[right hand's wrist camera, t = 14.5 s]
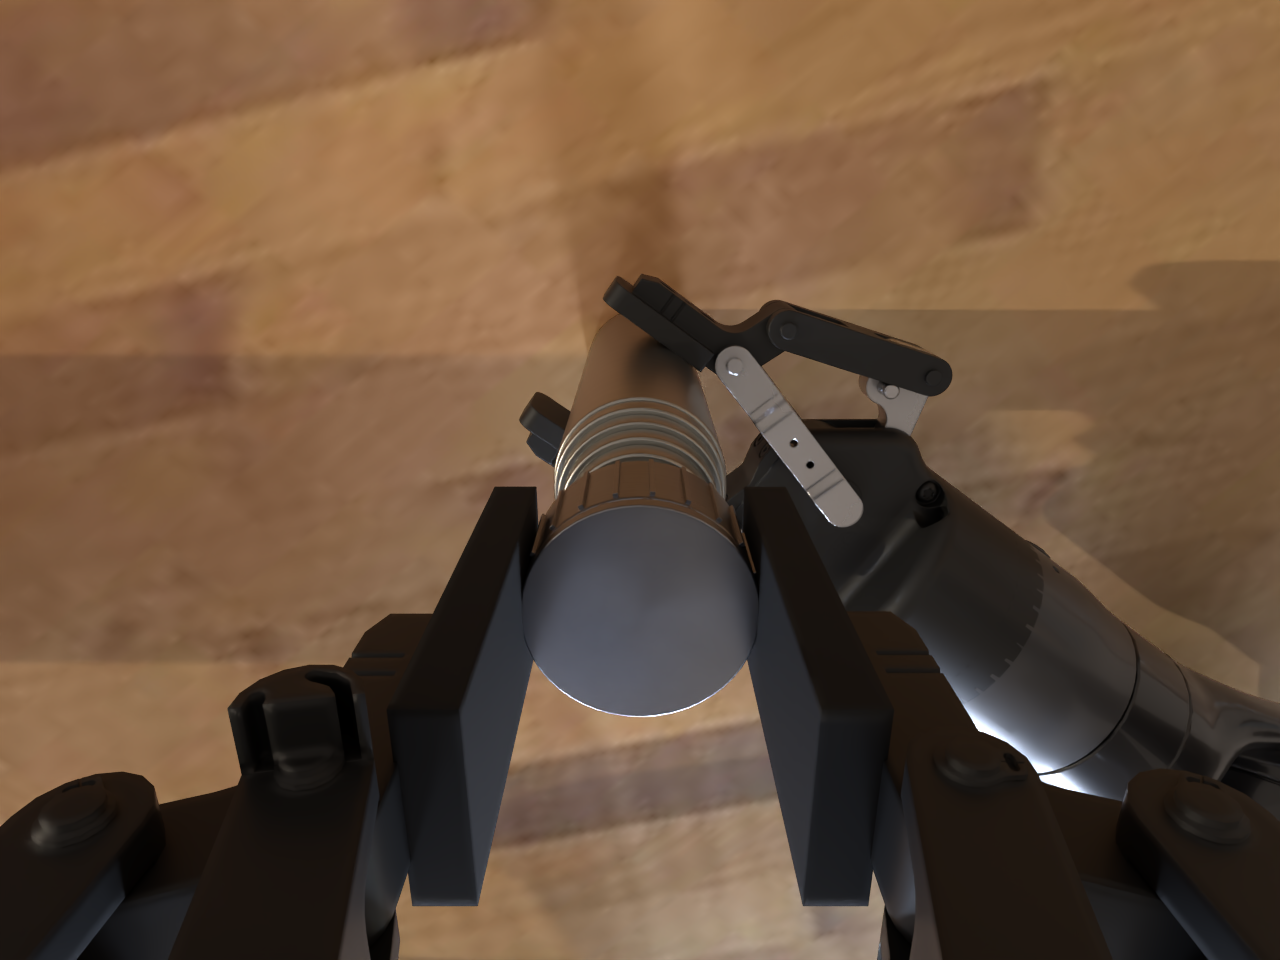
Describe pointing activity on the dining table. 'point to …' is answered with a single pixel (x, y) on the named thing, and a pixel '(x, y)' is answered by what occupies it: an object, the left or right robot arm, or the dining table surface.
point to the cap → (640, 590)
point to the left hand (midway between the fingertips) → (569, 350)
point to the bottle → (638, 410)
